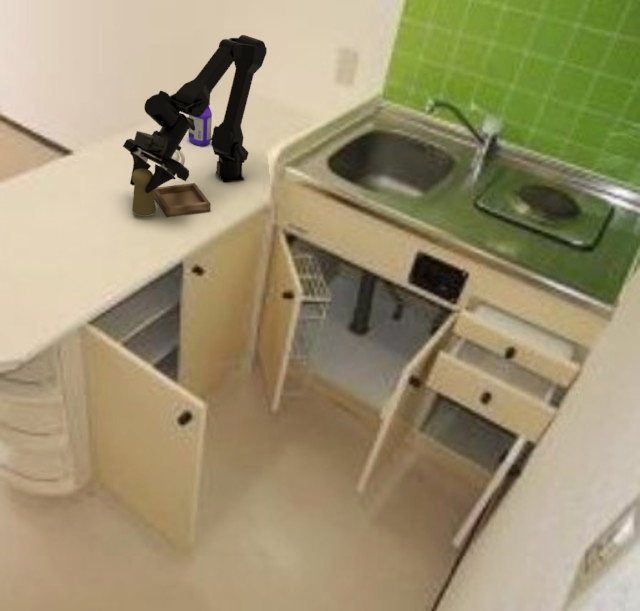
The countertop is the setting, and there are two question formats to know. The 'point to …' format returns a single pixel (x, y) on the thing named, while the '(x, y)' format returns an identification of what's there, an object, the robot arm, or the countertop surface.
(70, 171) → the countertop surface
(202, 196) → the walnut tray
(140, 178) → the cork
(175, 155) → the ring around a ball
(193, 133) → the bottle
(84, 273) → the countertop surface
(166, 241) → the countertop surface
